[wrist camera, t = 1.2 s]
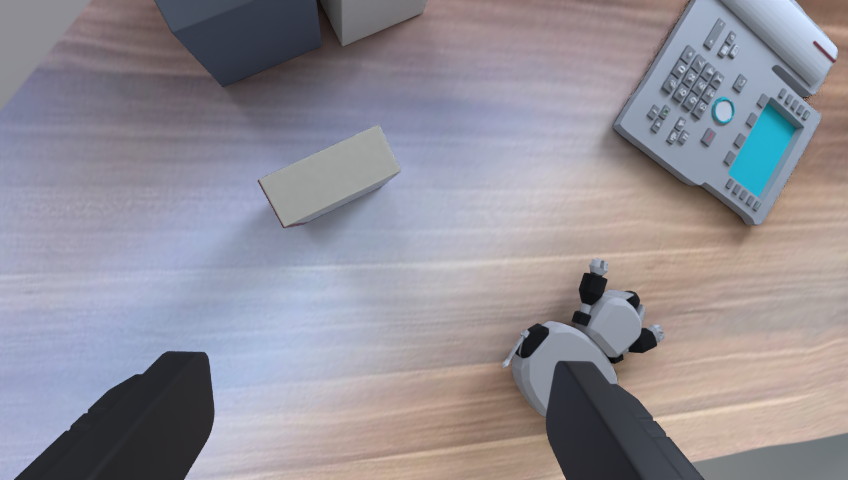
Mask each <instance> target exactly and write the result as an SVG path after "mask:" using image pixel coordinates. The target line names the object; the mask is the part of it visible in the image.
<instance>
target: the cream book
mask: <svg viewBox="0 0 848 480" xmlns="http://www.w3.org/2000/svg"><path fill="white" fill-rule="evenodd" d="M399 172H401V169H400V167H399V165H398V163H397V161H396V159H395V157H394V155H393V153H392V150H391V148H390V146H389V144H388V142H387V140H386V138H385V136H384V134H383V132H382V130H381V128H380V126H379V125H376V126H374V127H372V128H369V129H367V130H365V131H363V132H361V133H358V134H356V135H354V136H352V137H350V138H348V139H345V140H343V141H341V142H339V143H337V144H335V145H332V146H330V147H328V148H326V149H324V150H321V151H319V152H317V153H315V154H313V155H311V156H308V157H306V158H304V159H302V160H300V161H298V162H295V163H293V164H291V165H289V166H287V167H285V168H282V169H280V170H278V171H276V172H274V173H271V174H269V175H267V176H265V177H263V178H261V179H259V180H258V182H259V184H260V186H261V188H262V190H263V192H264V193H265V195H266V197H267V199H268V201H269V203H270V204H271V206H272V208H273V210H274V212H275V214H276V216H277V217H278V219H279V221H280V223H281V225H282V227H283V228H288V227H293V226H299V225H303V224H305V223H307V222H309V221H311V220H313V219H315V218H317V217H319V216H321V215H323V214H325V213H327V212H330V211H332V210H334V209H336V208H338V207H340V206H342V205H344V204H346V203H348V202H350V201H352V200H354V199H356V198H358V197H360V196H362V195H365V194H367V193H369V192H371V191H373V190H375V189H377V188H379V187H381V186H383V185H385V184H386V183H387V182H388V181H390V180H391V179H392V178H393V177H395V176H396V175H397V174H398V173H399Z"/></svg>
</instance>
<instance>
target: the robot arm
mask: <svg viewBox="0 0 848 480" xmlns="http://www.w3.org/2000/svg"><path fill="white" fill-rule="evenodd" d="M213 422H214V400H213V391H212V383H211V374H210V365H209V359H208V356H207V354H206V353H205V352H184V351H167V352H165V353H164V354H162V355H161V356H160V357H159V358H158V359H157V360H156V361H155V362H154V363H153V364H152V365H151V366H150V367H149V368H148V369H147V370H146V371H145V372H144V373H143V374H136V375H134V376H132V377H131V378H129V379H127V380H125V381H124V382H122V383H120V384H119V385H117V386H115V387H113V388H112V389H110V390H108V391H107V392H106V393H105V394H104V395H103V396H102V397H101V398H100V399H99V400H98V401H97V402H96V403H95V404H94V405H93V406H91V407H90V408H89V409H88V413H84V414H83V415H82V416H81V417H80V418H79V419H78V420H77V421H76V422H74V423H73V424H72V425H71V428H70V430H69V431H65V432H64V433H63V434H62V435H61V436H60V437H59V438H58V439H56V440H55V441H54V442H53V443H52V444H51V445H50V446H49V447H48V448H47V449H46V450H45V451H44V452H43V453H42V454H41V455H39V456H38V457H37V458H36V459H35V460H34V461H33V462H32V463H31V464H30V465H29V466H28V467H27V468H26V469H25V470H24V471H23V472H21V473H20V474H19V475H18V476H17V477H16V478H15V479H14V480H184V479H185V477H186V475H187V474H188V472H189V470H190V468H191V467H192V465H193V463H194V462H195V460H196V458H197V457H198V455H199V453H200V452H201V450H202V448H203V447H204V445H205V443H206V442H207V440H208V438H209V435H210V433H211V430H212V426H213ZM546 430H547V436H548V440H549V443H550V445H551V447H552V449H553V452H554V454H555V456H556V458H557V461H558V463H559V465H560V467H561V469H562V472H563V474H564V476H565V478H566V480H704V478H703V477H702V476H701V475H700V474H699V472H698V471H697V470H696V469H695V468H694V466H693V465H692V464H691V463H690V462H689V460H688V459H687V458H686V457H685V455H684V454H683V453H682V452H681V451H680V449H679V448H678V447H677V446H676V445H675V443H674V442H673V441H672V440H671V439H670V437H666V433H665V431H664V430H663V429H662V428H661V427H660V425H659V424H658V423H657V422H656V421H653V417H652V416H651V415H650V413H649V412H648V411H647V410H646V409H645V407H644V406H643V405H642V404H641V403H640V401H639V400H638V399H637V398H635V397H634V396H633V395H631V394H630V393H628V392H627V391H626V390H624V389H623V388H621V387H620V386H619V385H617V384H610V383H609V381H608V380H607V379H606V378H605V376H604V375H603V374H602V372H601V371H600V370H599V369H598V367H597V366H596V365H595V364H594V363H593V362H591V361H558V362H557V363H556V365H555V369H554V374H553V379H552V385H551V390H550V396H549V401H548V406H547V412H546Z"/></svg>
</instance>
